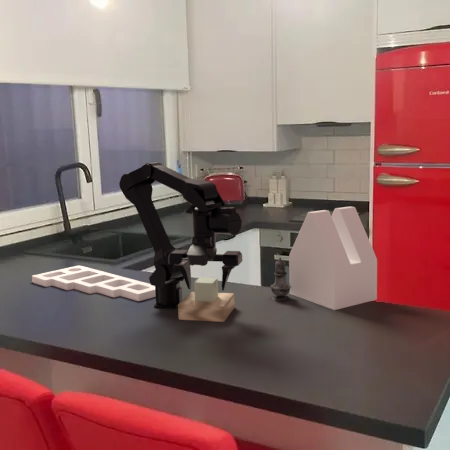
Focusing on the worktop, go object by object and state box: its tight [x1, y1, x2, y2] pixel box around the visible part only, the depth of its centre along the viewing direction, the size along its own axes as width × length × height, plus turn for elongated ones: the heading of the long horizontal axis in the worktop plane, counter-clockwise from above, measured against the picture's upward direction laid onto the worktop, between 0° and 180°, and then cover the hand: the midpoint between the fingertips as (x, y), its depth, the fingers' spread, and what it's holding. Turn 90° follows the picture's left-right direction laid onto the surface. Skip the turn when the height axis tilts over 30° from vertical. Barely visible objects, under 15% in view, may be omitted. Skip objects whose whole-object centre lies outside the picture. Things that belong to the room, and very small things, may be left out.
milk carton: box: [288, 206, 378, 311], centre depth 175 cm, size 19×15×25 cm
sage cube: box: [193, 277, 219, 302], centre depth 164 cm, size 5×5×5 cm
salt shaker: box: [269, 257, 291, 302], centre depth 175 cm, size 6×6×12 cm
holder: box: [31, 265, 156, 302], centre depth 194 cm, size 45×18×3 cm, turn 45°
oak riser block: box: [177, 291, 236, 323], centre depth 165 cm, size 12×12×4 cm
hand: (206, 289), depth 164 cm, fingers open, 9 cm apart
